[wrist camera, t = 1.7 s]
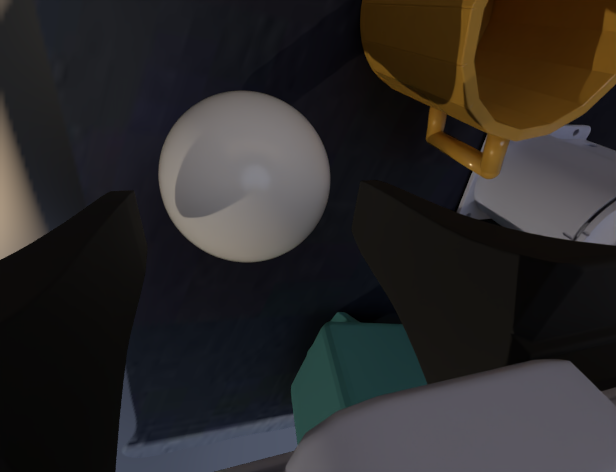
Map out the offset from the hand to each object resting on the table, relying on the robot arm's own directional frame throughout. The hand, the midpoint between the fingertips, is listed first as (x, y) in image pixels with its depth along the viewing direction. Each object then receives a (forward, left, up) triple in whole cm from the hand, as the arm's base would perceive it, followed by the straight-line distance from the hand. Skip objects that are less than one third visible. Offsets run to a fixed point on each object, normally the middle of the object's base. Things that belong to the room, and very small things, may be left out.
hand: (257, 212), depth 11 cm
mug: (-11, -5, -10) cm, 16 cm away
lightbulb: (0, 0, -10) cm, 10 cm away
